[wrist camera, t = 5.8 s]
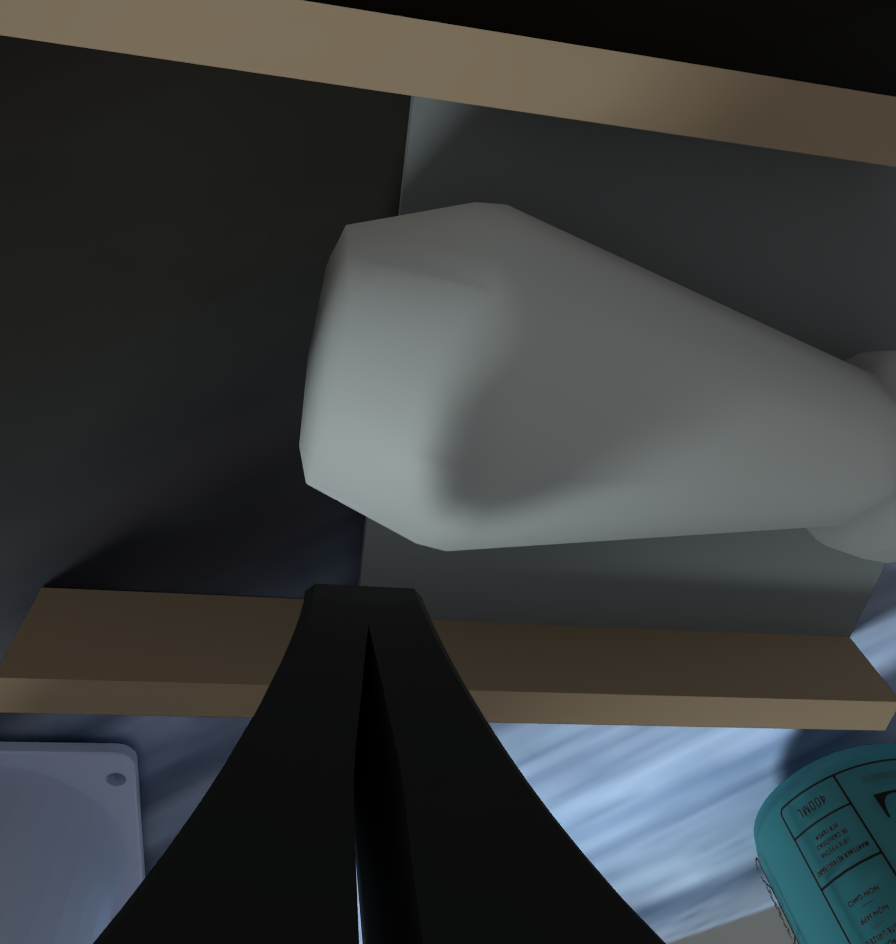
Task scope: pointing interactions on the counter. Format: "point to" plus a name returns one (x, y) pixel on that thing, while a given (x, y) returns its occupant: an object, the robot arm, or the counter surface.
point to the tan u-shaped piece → (610, 228)
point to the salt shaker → (577, 398)
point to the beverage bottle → (834, 847)
